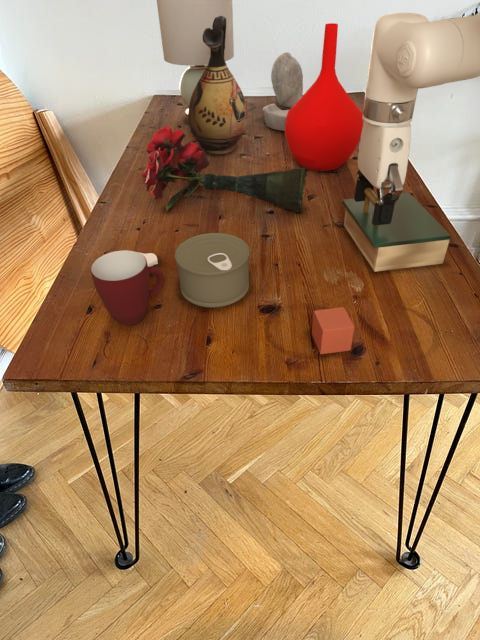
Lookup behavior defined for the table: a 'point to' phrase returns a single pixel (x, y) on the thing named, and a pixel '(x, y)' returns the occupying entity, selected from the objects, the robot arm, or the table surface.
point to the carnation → (189, 161)
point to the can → (213, 269)
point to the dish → (275, 117)
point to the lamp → (192, 36)
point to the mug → (125, 284)
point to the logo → (150, 259)
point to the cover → (396, 222)
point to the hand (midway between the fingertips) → (371, 211)
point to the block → (332, 330)
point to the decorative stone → (287, 80)
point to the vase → (324, 117)
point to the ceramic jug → (217, 99)
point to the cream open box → (396, 251)
